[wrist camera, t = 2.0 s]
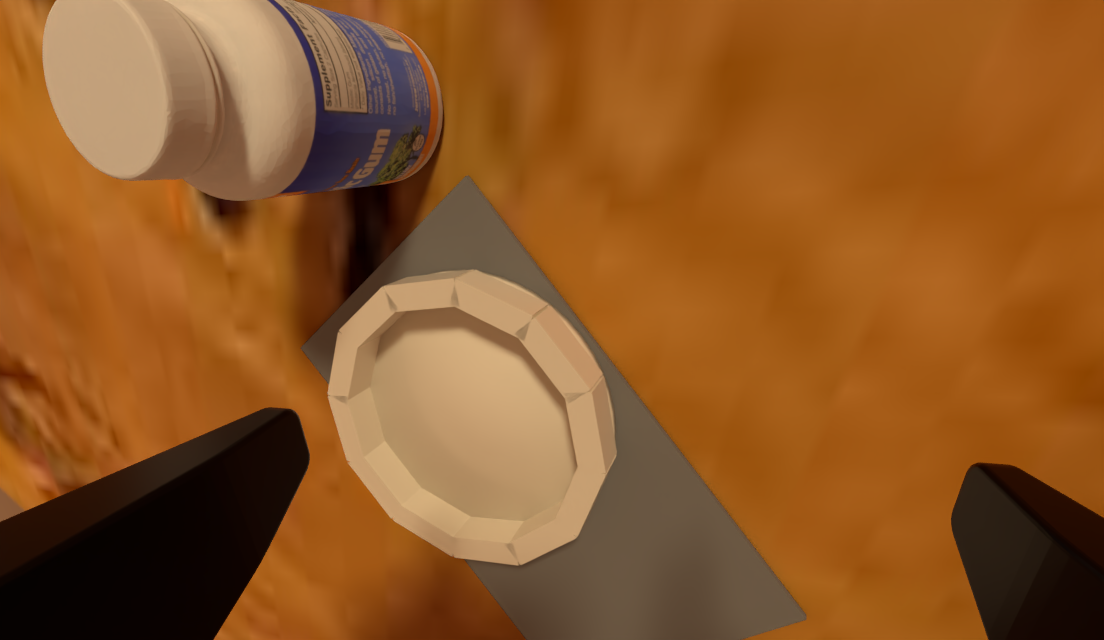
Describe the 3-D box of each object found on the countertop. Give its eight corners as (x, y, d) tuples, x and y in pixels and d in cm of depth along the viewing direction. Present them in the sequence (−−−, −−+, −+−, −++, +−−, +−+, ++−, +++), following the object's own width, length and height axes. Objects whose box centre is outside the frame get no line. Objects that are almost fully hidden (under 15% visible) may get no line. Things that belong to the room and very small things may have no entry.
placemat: (806, 615, 21) (806, 619, 20) (569, 689, 26) (567, 693, 26) (468, 175, 20) (465, 176, 20) (303, 346, 26) (300, 348, 26)
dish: (680, 463, 20) (670, 492, 19) (474, 567, 26) (452, 598, 24) (482, 206, 20) (454, 213, 19) (319, 366, 26) (286, 383, 24)
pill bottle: (366, 204, 22) (103, 251, 14) (303, 71, 22) (-15, 35, 13) (473, 144, 20) (233, 156, 11) (407, -8, 19) (96, -118, 11)
